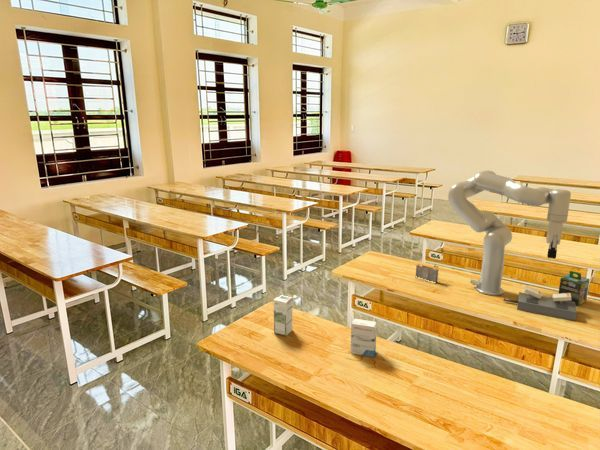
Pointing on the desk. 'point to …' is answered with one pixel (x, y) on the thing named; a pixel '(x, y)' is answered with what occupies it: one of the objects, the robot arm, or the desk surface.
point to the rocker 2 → (562, 297)
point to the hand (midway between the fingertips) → (551, 257)
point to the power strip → (546, 306)
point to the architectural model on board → (427, 273)
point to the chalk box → (575, 287)
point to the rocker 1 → (533, 292)
